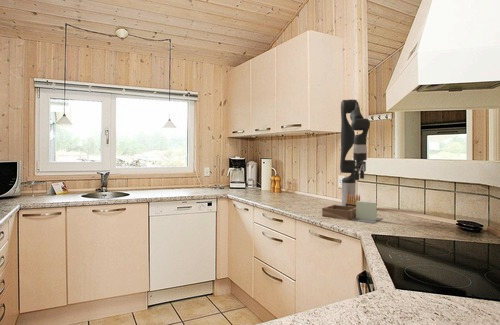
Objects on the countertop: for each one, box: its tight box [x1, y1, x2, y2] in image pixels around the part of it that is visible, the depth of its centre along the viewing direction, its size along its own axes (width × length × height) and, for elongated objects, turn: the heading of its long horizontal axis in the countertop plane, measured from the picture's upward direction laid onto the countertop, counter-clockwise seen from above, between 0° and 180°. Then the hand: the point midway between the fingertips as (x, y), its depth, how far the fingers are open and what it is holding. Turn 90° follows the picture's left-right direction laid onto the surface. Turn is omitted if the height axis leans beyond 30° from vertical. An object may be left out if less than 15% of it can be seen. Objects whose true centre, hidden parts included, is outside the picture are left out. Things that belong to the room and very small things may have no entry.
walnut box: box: [321, 204, 356, 221], centre depth 199 cm, size 16×16×5 cm
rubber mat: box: [350, 217, 383, 225], centre depth 188 cm, size 16×13×1 cm
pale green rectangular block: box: [355, 200, 378, 221], centre depth 188 cm, size 2×11×10 cm, turn 51°
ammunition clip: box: [346, 193, 361, 207], centre depth 212 cm, size 11×2×12 cm, turn 37°
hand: (359, 179), depth 195 cm, fingers open, 8 cm apart
